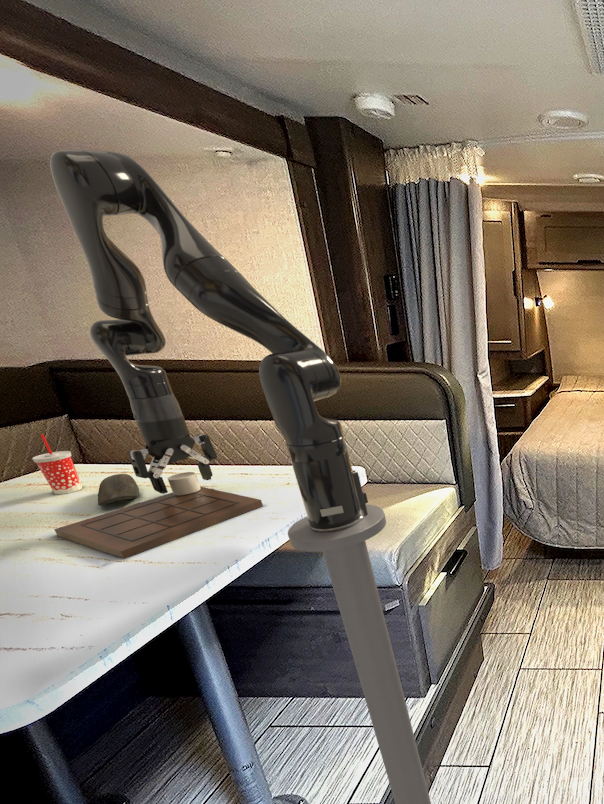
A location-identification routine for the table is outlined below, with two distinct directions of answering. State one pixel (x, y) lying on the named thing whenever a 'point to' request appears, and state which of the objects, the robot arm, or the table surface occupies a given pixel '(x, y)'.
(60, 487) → the beverage cup
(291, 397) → the robot arm
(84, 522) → the game board
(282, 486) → the table surface
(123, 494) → the decorative stone
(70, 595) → the table surface
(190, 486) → the game stone
